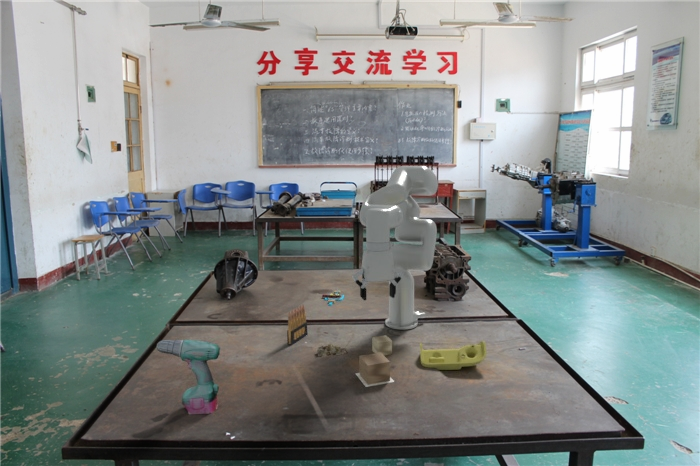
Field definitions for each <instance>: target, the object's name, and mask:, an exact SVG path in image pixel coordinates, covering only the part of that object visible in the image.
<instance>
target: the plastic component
mask: <svg viewBox="0 0 700 466" xmlns="http://www.w3.org/2000/svg"><path fill="white" fill-rule="evenodd" d="M419 351H420V352H419V353H420V354H419V355H420V365H422V367H425V368H435V369H436V370H437V371H452V370H454V371H455V370H457V371H458V370H461V369H462V367H463V368H464V367H475V366H476V365H479V364H480V363H482V362H483V361H484V360H485V358H486V356H487V351H488V350H487V346H486V341H485V340H484V341H480V342H479V343H478V344H471V345H470V344H467V345H466V344H465V345H464V346H462V347H460V348H444V349H443V348H441V349H439V348H438V349H424V348H423V343H421V342H420V344H419Z"/></svg>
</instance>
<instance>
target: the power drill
mask: <svg viewBox="0 0 700 466" xmlns="http://www.w3.org/2000/svg"><path fill="white" fill-rule="evenodd" d="M156 350H157V351H158V352H160V353H162V354H167V355H172V356H175V357H178V358H180V359H181V360H182V361H183V362H186V363H187V369H189V370H191V371H192V372H193V373H194V375H195V379H196V383H197V384H196V385H194V386H192V387H189V388H187V389H186V390H185V391H184V392H183V394H182V398H181V404H182V405H183V407H184V408H185V409H186V410H187V414H188V415H203V414H213V413H214V412H215V410H218V407H219V404H218V393H219V385H218V384H217V383H215V382H214V378H213V374H212V372H211V369H210V367H209V364H208V361H211V360H217V359H219V356H220V352H221V349H220V346H219V345H218V344H217V343H214V342H213V343H211V342H207V341H205V340H204V341H203V340H193V339H177V340H175V339H164V340H160V341H158V342H157V343H156Z"/></svg>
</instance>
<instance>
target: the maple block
mask: <svg viewBox="0 0 700 466" xmlns="http://www.w3.org/2000/svg"><path fill="white" fill-rule="evenodd" d="M371 340H372V341H371V344H372V346H371V348H372V349H371V351H372V352H373V354H374V353H380V352H381V353H382V354H383V355H384V356H389V355H393V340H392V339H391V338H390V337H389V336H388V335H387V334H386V335H385V334H384V335H378V336H373V337H371Z"/></svg>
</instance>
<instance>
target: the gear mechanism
mask: <svg viewBox="0 0 700 466" xmlns="http://www.w3.org/2000/svg"><path fill="white" fill-rule="evenodd" d="M321 296H322V298H324V300H325V301H327V303H328V306H333V304H335V303H336V301H338V302H339V301H343V300H344V297H345V295H344V294H341V290H339V288H338V287H336V290H334V291H333V293H330V294H322V295H321Z"/></svg>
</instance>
